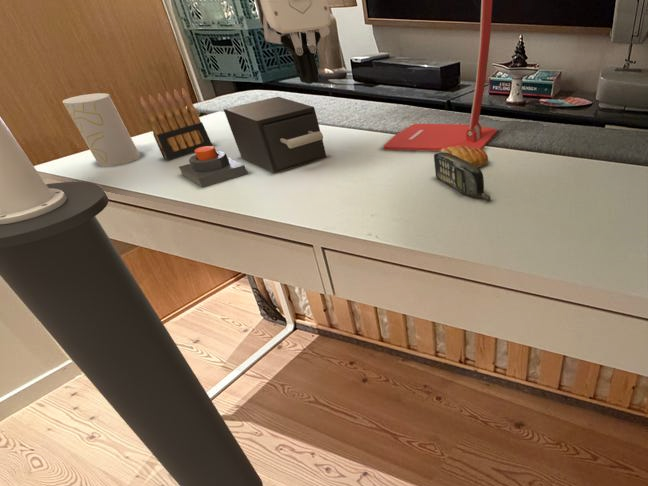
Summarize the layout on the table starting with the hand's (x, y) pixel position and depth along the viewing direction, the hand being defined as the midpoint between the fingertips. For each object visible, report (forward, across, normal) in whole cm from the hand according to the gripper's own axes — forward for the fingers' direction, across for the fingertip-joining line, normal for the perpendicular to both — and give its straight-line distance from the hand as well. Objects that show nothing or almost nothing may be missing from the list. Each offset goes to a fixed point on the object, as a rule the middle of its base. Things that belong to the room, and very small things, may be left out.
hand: (309, 81), depth 76 cm
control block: (+17, -14, +22) cm, 31 cm away
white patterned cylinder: (+17, -24, +49) cm, 57 cm away
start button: (+13, -14, +22) cm, 29 cm away
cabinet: (+16, 0, +20) cm, 26 cm away
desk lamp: (+16, +28, +4) cm, 33 cm away
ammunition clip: (+17, -12, +41) cm, 46 cm away
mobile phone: (+16, +13, -22) cm, 30 cm away
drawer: (+15, 0, +16) cm, 22 cm away
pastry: (+16, +20, -14) cm, 30 cm away
